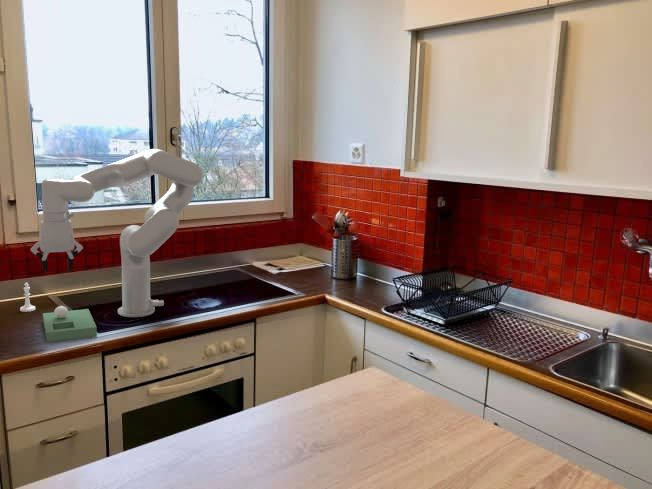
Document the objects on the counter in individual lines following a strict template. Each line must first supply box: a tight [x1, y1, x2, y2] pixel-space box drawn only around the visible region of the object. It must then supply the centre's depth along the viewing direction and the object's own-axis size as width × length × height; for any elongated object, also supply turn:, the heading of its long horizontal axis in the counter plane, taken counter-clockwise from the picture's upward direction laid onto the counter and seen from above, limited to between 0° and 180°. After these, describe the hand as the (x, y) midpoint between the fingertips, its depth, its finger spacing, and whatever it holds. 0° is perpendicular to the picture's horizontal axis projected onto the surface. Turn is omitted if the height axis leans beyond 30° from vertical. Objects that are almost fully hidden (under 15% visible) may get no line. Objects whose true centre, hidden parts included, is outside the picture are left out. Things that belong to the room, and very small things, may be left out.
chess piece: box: [19, 281, 37, 313], centre depth 194 cm, size 5×5×10 cm
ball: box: [53, 305, 69, 318], centre depth 179 cm, size 4×4×4 cm
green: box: [42, 308, 98, 343], centre depth 178 cm, size 14×20×3 cm
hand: (58, 270), depth 182 cm, fingers open, 6 cm apart
